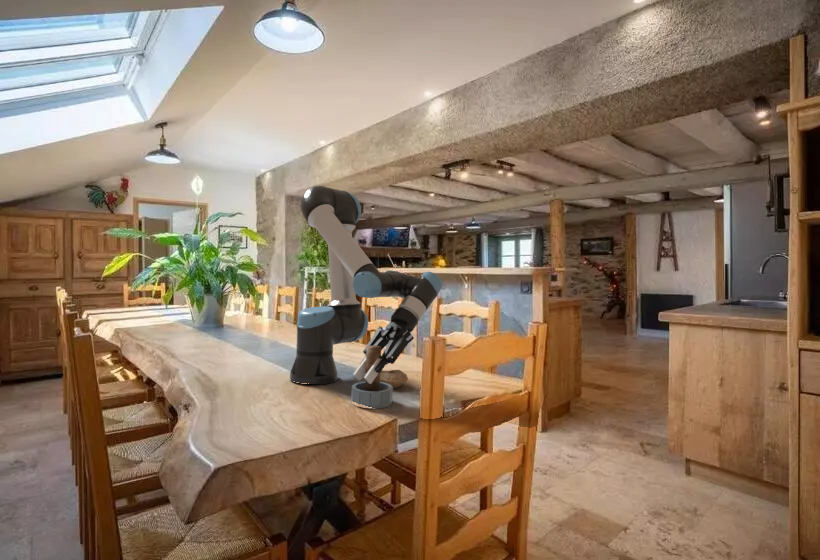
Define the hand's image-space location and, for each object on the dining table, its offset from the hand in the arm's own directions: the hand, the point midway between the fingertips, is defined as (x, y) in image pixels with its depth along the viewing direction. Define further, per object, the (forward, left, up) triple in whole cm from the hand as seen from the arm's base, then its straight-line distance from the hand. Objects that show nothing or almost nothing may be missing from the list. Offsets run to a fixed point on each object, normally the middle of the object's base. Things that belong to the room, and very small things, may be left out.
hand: (362, 378), depth 117 cm
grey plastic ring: (+2, +3, -7) cm, 8 cm away
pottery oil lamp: (+1, +22, -7) cm, 23 cm away
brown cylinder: (+2, +3, -4) cm, 5 cm away
